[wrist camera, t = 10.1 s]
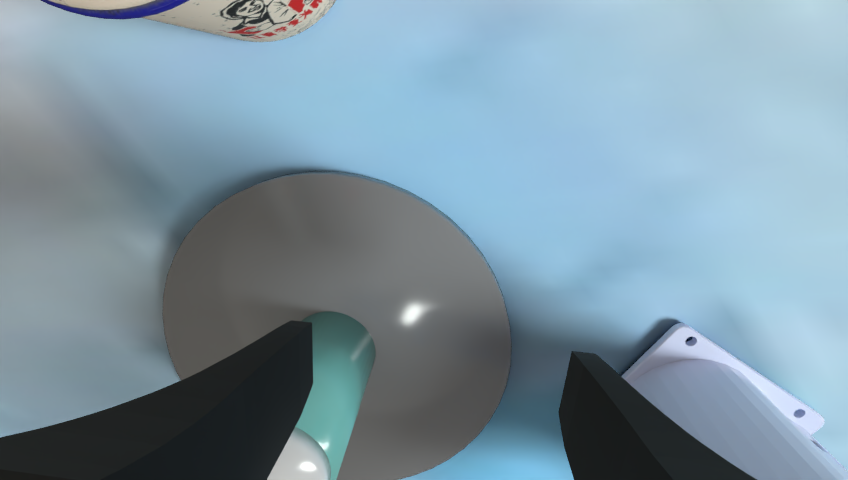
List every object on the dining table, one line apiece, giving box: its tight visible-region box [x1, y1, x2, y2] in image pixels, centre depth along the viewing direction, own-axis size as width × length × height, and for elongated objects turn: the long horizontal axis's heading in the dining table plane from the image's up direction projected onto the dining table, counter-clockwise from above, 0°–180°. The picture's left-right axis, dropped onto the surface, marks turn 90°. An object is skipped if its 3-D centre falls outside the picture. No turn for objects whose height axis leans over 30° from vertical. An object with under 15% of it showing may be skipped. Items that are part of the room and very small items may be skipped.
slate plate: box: [163, 171, 512, 480], centre depth 22 cm, size 18×18×1 cm
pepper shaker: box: [267, 311, 376, 480], centre depth 18 cm, size 4×4×8 cm
